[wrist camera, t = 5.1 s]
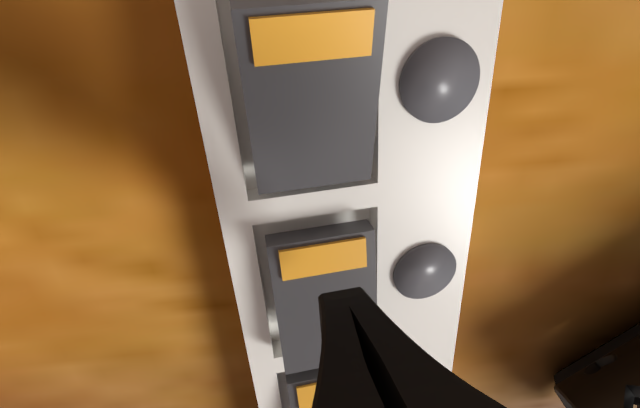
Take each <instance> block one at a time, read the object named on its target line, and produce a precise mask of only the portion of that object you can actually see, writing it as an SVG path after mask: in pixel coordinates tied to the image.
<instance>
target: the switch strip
mask: <svg viewBox="0 0 640 408" xmlns="http://www.w3.org/2000/svg"><path fill="white" fill-rule="evenodd" d="M174 3H175V8H176V13H177V17H178V22H179V27H180V32H181V37H182V42H183V46H184V51H185V56H186V61H187V66H188V70H189V75H190V80H191V85H192V90H193V94H194V99H195V104H196V109H197V114H198V119H199V123H200V128H201V133H202V138H203V143H204V147H205V152H206V157H207V162H208V167H209V171H210V176H211V181H212V186H213V191H214V195H215V200H216V205H217V210H218V215H219V220H220V224H221V229H222V234H223V239H224V244H225V248H226V253H227V258H228V263H229V268H230V272H231V277H232V282H233V287H234V292H235V297H236V301H237V306H238V311H239V316H240V321H241V325H242V330H243V335H244V340H245V345H246V349H247V354H248V359H249V364H250V369H251V374H252V378H253V383H254V388H255V393H256V398H257V402H258V407H259V408H290V401H289V395H288V388H287V381H286V375H285V369H284V362H283V356H282V349H281V342H280V335H279V329H278V322H277V315H276V308H275V302H274V295H273V288H272V282H271V275H270V268H269V261H268V255H267V248H266V241H265V235H267V234H273V233H280V232H286V231H293V230H299V229H306V228H312V227H319V226H325V225H332V224H338V223H345V222H351V221H358V220H364V219H367V220H368V221H369V222H370V224H371V225H372V227H373V228H374V229H375V246H376V281H377V305H378V306H379V307H380V309H381V310H382V311H383V312H384V313H385V314H386V315H387V316H388V317H389V318H390V319H391V320H392V321H393V322H394V323H395V324H396V325H397V326H398V327H399V328H400V329H401V330H402V331H403V332H404V333H405V334H406V335H408V336H409V337H410V338H411V339H412V340H413V341H414V342H415V343H416V344H418V345H419V346H420V347H421V348H422V349H423V350H424V351H426V352H427V353H428V354H429V355H430V356H432V357H433V358H434V359H435V360H437V361H438V362H439V363H440V364H442V365H443V366H444V367H446V368H447V369H448V370H450V371H451V372H452V366H453V358H454V351H455V344H456V337H457V330H458V322H459V315H460V308H461V301H462V294H463V286H464V279H465V272H466V265H467V258H468V250H469V243H470V236H471V229H472V222H473V214H474V207H475V200H476V193H477V186H478V178H479V171H480V164H481V157H482V150H483V143H484V135H485V128H486V121H487V114H488V107H489V99H490V92H491V85H492V78H493V71H494V63H495V56H496V49H497V42H498V35H499V27H500V20H501V13H502V6H503V0H389V2H388V12H387V22H386V32H385V42H384V52H383V62H382V72H381V82H380V92H379V102H378V112H377V122H376V132H375V142H374V152H373V162H372V172H371V179H369V180H362V181H354V182H347V183H340V184H333V185H326V186H319V187H312V188H304V189H297V190H290V191H283V192H276V193H269V194H262V195H259V194H258V188H257V181H256V174H255V168H254V161H253V155H252V148H251V141H250V135H249V128H248V122H247V115H246V108H245V102H244V95H243V89H242V82H241V75H240V69H239V62H238V56H237V49H236V42H235V36H234V29H233V22H232V16H231V9H230V1H229V0H174Z"/></svg>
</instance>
